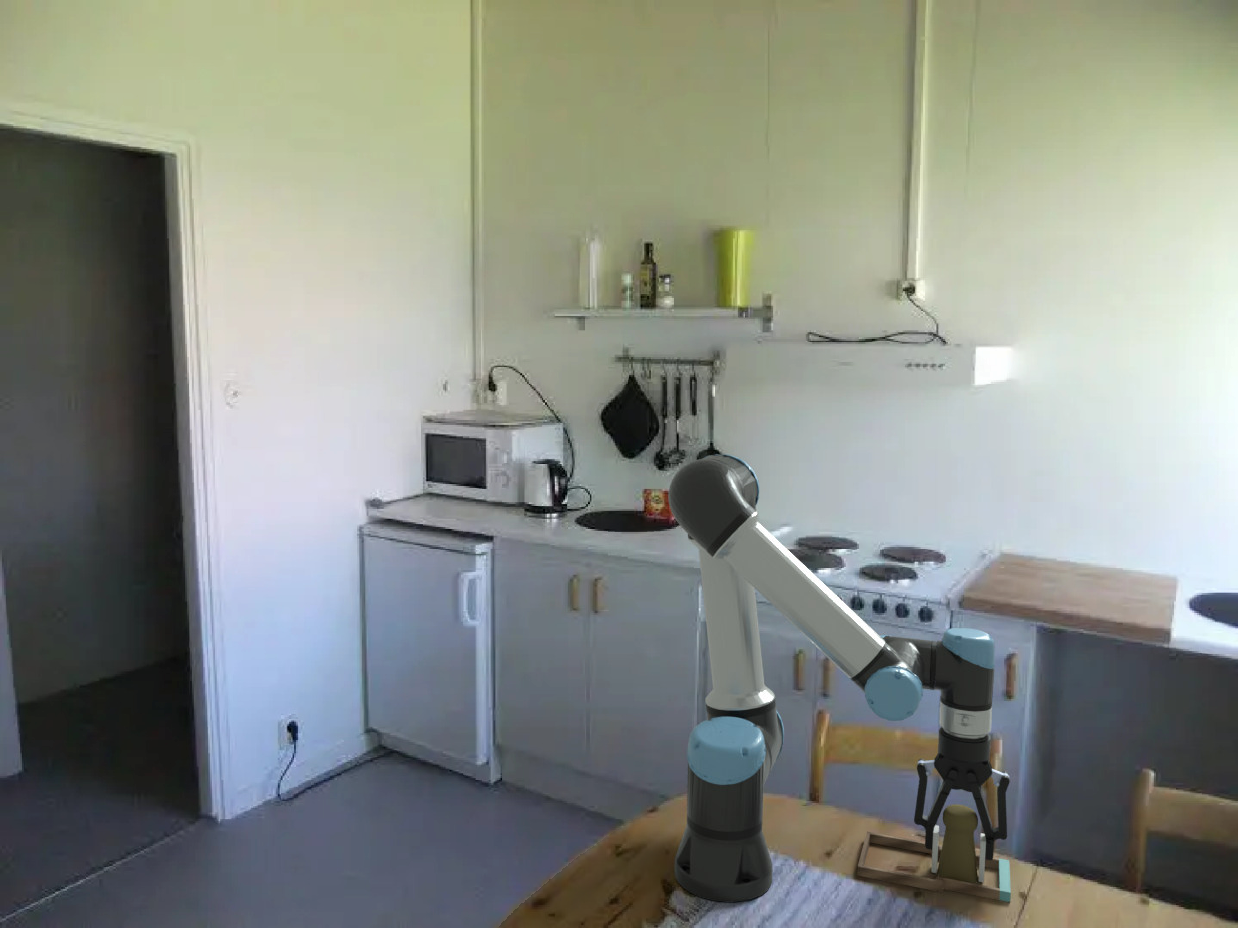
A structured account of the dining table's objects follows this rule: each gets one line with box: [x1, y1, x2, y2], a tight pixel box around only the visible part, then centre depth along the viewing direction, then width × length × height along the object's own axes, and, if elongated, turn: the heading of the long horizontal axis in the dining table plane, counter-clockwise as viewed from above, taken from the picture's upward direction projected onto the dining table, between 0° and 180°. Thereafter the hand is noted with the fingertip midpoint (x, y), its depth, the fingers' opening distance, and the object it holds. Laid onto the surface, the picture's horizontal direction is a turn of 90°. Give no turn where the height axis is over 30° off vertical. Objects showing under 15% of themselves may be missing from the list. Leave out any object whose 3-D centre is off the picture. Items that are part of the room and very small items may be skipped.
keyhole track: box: [857, 831, 1012, 903], centre depth 149 cm, size 22×12×2 cm, turn 69°
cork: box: [936, 803, 979, 884], centre depth 147 cm, size 6×6×11 cm
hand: (957, 872), depth 148 cm, fingers open, 6 cm apart
